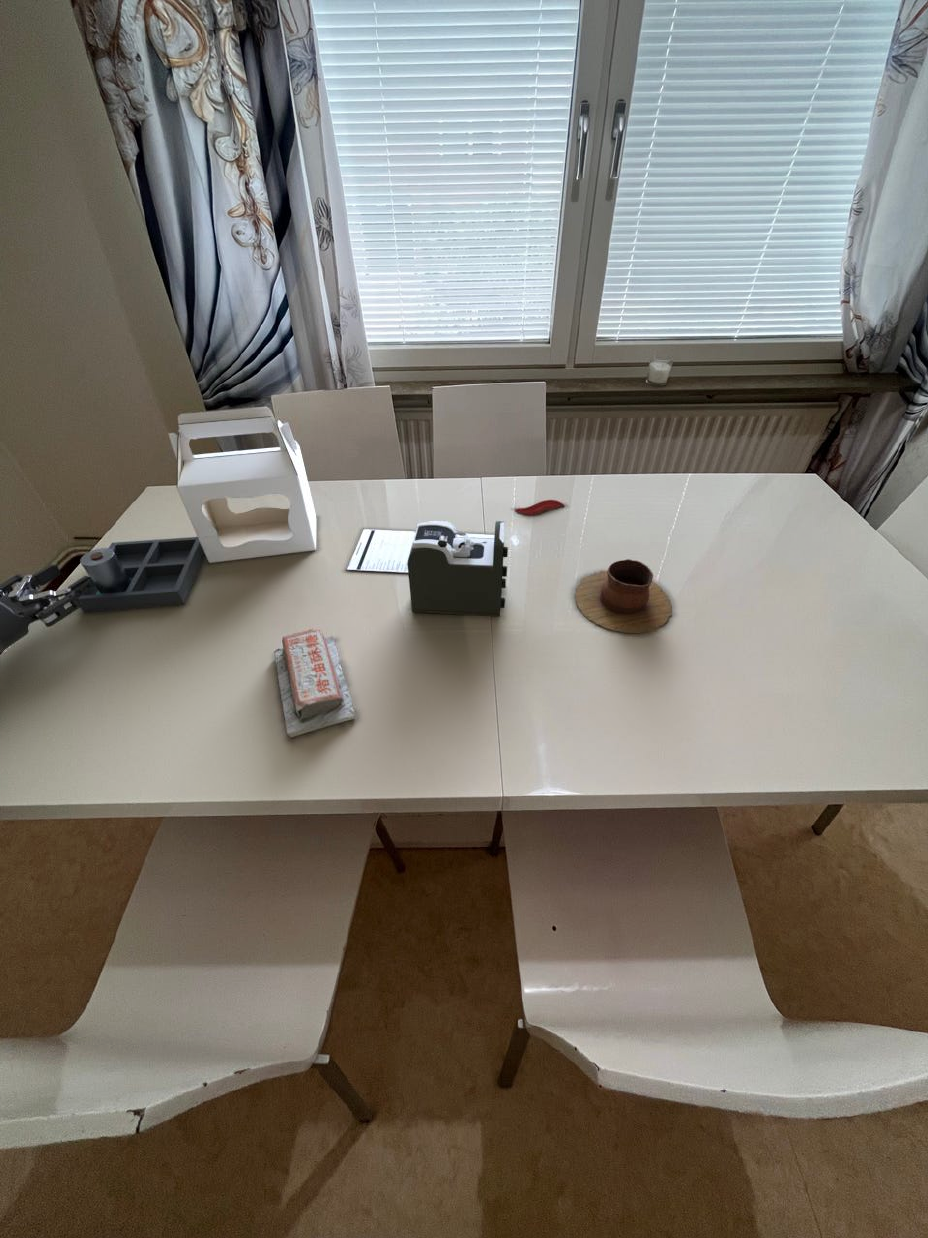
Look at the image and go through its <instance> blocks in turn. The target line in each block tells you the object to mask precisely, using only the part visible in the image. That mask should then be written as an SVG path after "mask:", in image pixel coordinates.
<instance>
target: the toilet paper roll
mask: <svg viewBox="0 0 928 1238" xmlns="http://www.w3.org/2000/svg"><path fill="white" fill-rule="evenodd" d="M79 562H80V564H81V566H82V567H83V569H84V570H85V572H86V573H87V576H89V577H91V578H92V580H93V582H94V583H95V586H96V587H97V589H98V590H99V592H100V594H108V593H121V592H126V590H127V589H128V587H129V585H130V583H131V581H130V579H129V577H128V575H127V574H126V572H125V570H124V569H123V567H122V565H121V563H120V562H119V560H118V558H117V556H116V555H115V553H114V551H113V550H112V549H109V547H100V548H95V549H92V550H90V551H88V552H87V553H85V554H84V555H82V557H81V558H80V561H79Z"/></svg>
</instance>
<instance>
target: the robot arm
mask: <svg viewBox="0 0 928 1238" xmlns="http://www.w3.org/2000/svg"><path fill="white" fill-rule="evenodd" d="M61 575H62V571H61V570H60V569H59V566H58V565H56V564H54V563H51V564H48V565H47V566H46V567H44V568H42V569H40V570H38V571H37V572H35V573H34V574H27V575H24V576H23V575H22V574H20V573H18V574H15V575H13V576H12V577H10V578H8V579H7V580H5V581H4V582H1V584H0V653H2V652H4V651H5V650H6V649H8V648H10V647H11V646H12V645H14V644H15V643H17V642H19V641H20V640H21V639H23V638H24V637H26V636H27V635H28V634H29V631H30V630H29V626H30V625H31V624H33V623H35V622H38V621H41V622H42V623H43V624H44V625H45V626H46V628H51V627H52V626H54V625H56V624H57V623H59V622H61V621H62V620H63V619H65V618H66V617H68V616H70V615H71V614H73V613H74V612H76V611H77V610H79V609H81V608H80V607H82V604H81V603H80V601H79V600H78V598H79V597H80V596H82V595H83V594H85V593H86V592H88V591H89V590H91V589H92V588H93V587H94V586H95V583H94V582H93V580H92V578H91V577H90V576H89V575H83V577H81V578H79V579H78V580H76V581H74V582H73V583H72V584H70V585H68V586H67V588H63V589H60V590H56V591H55V590H51V589H49V590H46V591H40V590H39V589H40V587H41V586H45V585H47V584H48V583H50V582H51V581H53V580H55V579H56V578H58V577H59V576H61ZM13 586H14V587H13ZM51 603H52V604H51ZM67 606H68V607H67ZM65 607H66V608H65Z"/></svg>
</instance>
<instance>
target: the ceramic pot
mask: <svg viewBox="0 0 928 1238" xmlns="http://www.w3.org/2000/svg"><path fill="white" fill-rule="evenodd" d="M653 579H654V574H653V571H652V570H651V568H650V567H649V566H648V565H646V564H645V563H643V562H641V561H639V560H633V559H629V558H627V559H622V560H621V559H620V560H616V561H614V562H612V563H610V565H609V566H608V569H607V570H600V572H595V573H590V575H587V576H586V577H583V578H582V579H581V580H580V581H579V584H578V585H577V587H576V588H575V592H574V599H575V601H576V605H577V607H578V609H579V610H580V612H581V613H582V615H583V616H585V618H586V619H587V620H588V621H591V622H593V623H595V625H597V626H598V625H599V626H601V628H602V627H604V628H606V629H607V630H611V631H617V632H621V633H624V634H627V633H633V634H644V633H648V632H650V631H654V630H656V629H657V628H658V627H663V625H665V623H666V622H668V621H669V618H670V616H672V610H671V609H672V604H671V600H670V599H671V598H669V595H667V593H666V591H664V590H663V589H662V587H661V586H659V585H658V584H657V583H656V582H653Z"/></svg>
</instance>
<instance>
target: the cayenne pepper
mask: <svg viewBox="0 0 928 1238" xmlns="http://www.w3.org/2000/svg"><path fill="white" fill-rule="evenodd" d="M561 507H562V508H564V507H566V506H565V504H564V503H562V502H560V501H558V500H556V499H546V500H541V501H539V502H537V503H534V504H532V505H530V506H527V507H521V508H520V507H519V508H514V511H516V512H517V513H521V514H524V515H531V516H532V515H533V516H534V515H538V514H540V513H542V512H544V511H547V510H551V509H555V508H561Z"/></svg>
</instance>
